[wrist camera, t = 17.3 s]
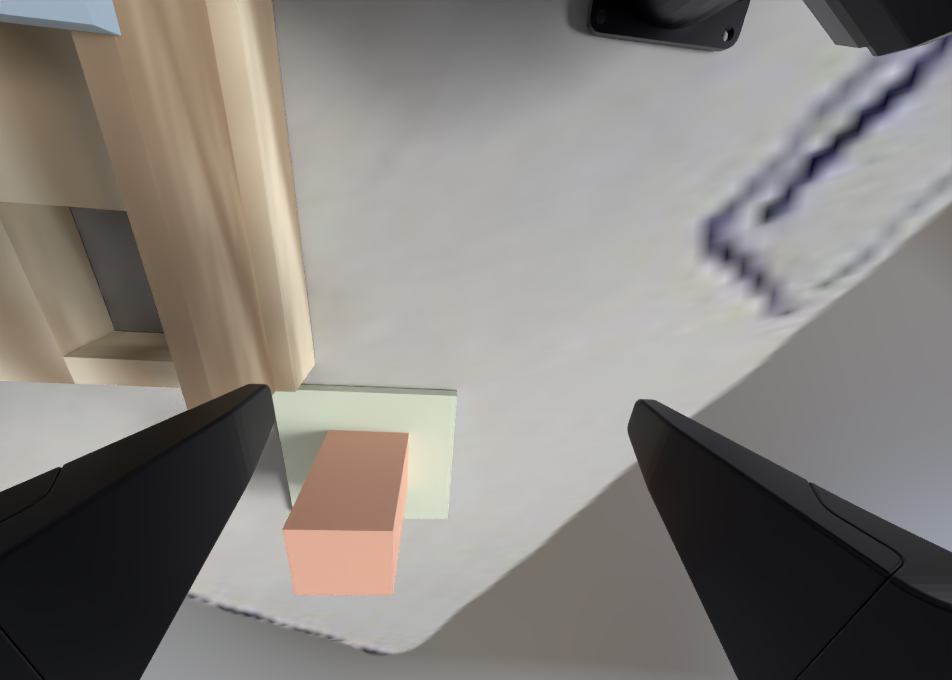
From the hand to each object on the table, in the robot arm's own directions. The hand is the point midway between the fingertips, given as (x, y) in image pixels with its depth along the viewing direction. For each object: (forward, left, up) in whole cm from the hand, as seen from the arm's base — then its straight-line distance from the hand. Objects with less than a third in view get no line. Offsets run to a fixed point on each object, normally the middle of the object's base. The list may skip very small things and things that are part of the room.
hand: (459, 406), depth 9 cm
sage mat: (+5, +13, -12) cm, 18 cm away
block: (+5, +13, -11) cm, 18 cm away
